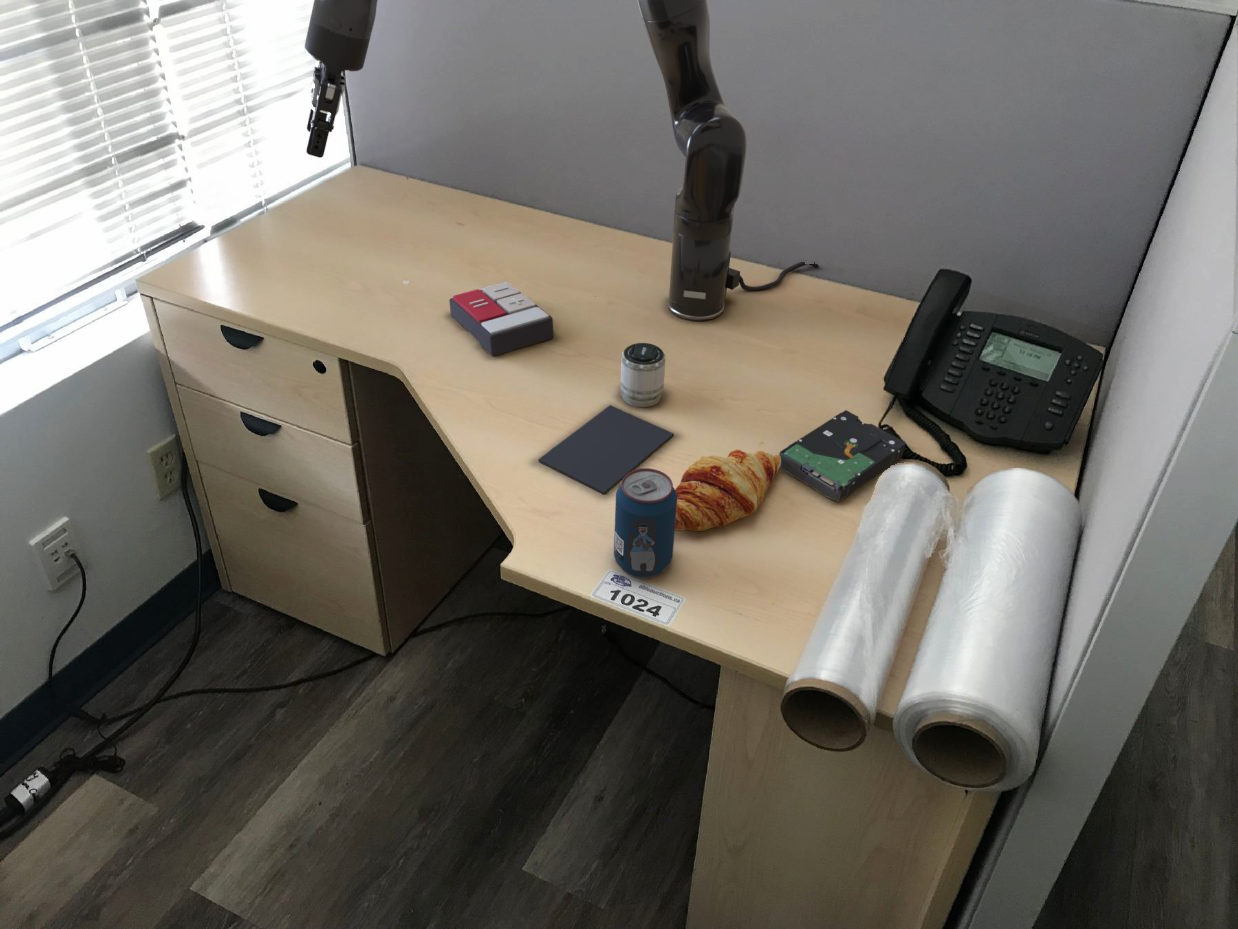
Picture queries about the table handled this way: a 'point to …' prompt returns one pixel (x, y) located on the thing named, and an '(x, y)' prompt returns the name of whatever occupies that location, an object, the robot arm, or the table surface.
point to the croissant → (723, 489)
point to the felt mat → (606, 449)
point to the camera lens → (642, 374)
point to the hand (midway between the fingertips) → (314, 143)
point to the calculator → (501, 318)
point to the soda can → (645, 523)
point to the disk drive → (841, 455)
